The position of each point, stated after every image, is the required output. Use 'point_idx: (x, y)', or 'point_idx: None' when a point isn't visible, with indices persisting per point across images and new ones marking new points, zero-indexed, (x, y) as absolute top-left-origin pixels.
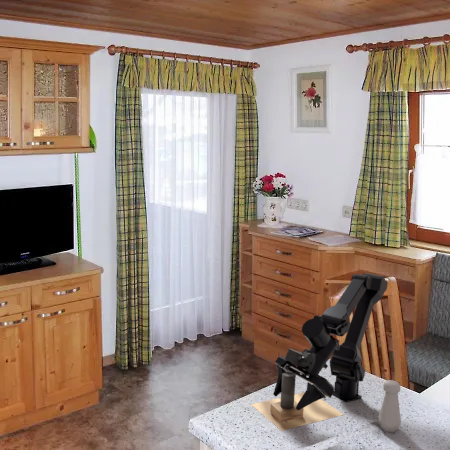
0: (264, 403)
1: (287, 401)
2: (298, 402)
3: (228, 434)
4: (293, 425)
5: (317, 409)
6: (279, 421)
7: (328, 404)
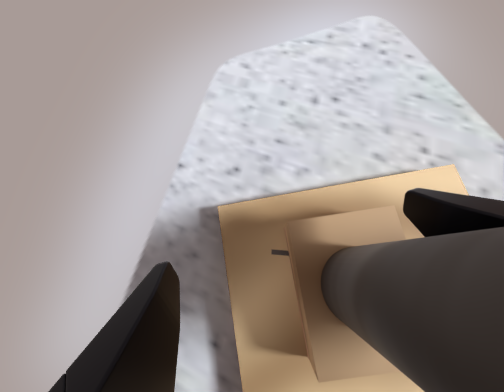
0: None
1: (337, 272)
2: (150, 292)
3: (277, 67)
4: (242, 270)
5: None
6: None
7: None
